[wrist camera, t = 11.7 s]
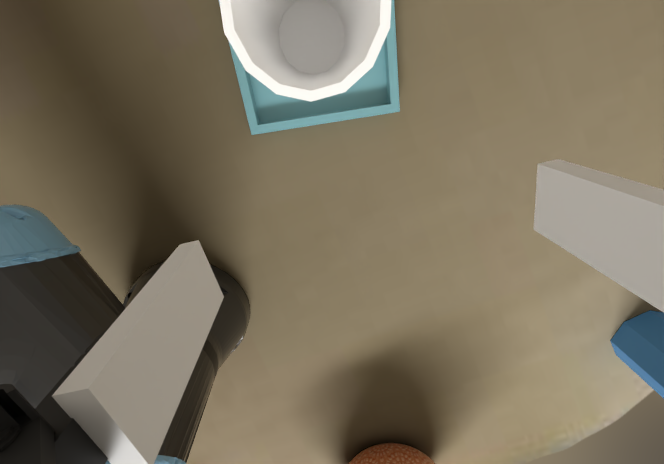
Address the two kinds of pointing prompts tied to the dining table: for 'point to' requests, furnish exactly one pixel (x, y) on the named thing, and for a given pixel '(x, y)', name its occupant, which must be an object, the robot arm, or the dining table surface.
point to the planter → (391, 455)
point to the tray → (358, 101)
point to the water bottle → (643, 347)
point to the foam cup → (306, 42)
